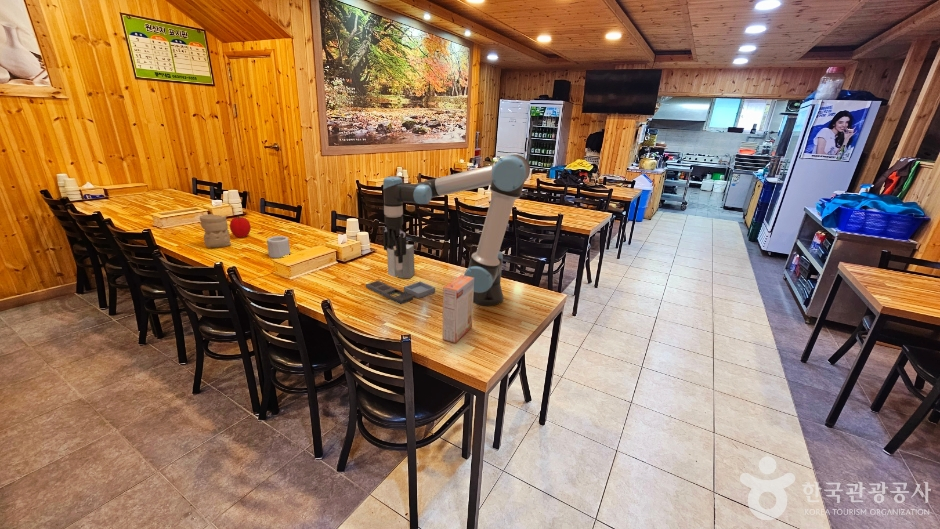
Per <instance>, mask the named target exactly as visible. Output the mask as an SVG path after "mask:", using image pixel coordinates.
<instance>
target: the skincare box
mask: <svg viewBox="0 0 940 529" xmlns="http://www.w3.org/2000/svg"><path fill="white" fill-rule="evenodd" d="M415 272H416V271H415V245H414V244H406V255H403V275H400V276H397V278H400V279H408V280H410V279H411V278H412V277H413V276H414V275H415Z"/></svg>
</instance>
